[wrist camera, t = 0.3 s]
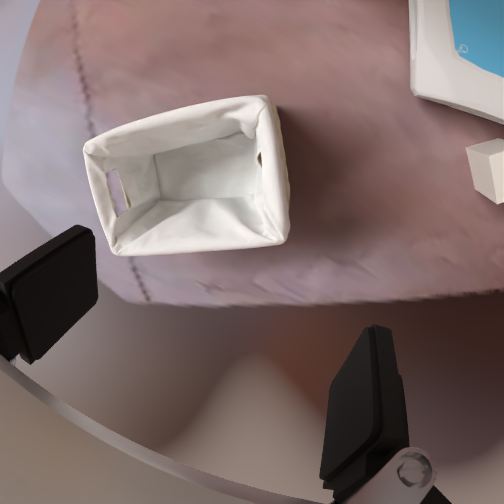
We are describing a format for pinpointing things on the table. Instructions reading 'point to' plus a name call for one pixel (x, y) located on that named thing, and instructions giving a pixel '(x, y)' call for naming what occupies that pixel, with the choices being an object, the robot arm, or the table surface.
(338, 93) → the table surface
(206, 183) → the storage basket
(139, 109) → the table surface
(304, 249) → the table surface
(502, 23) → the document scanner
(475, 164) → the matte white cube
